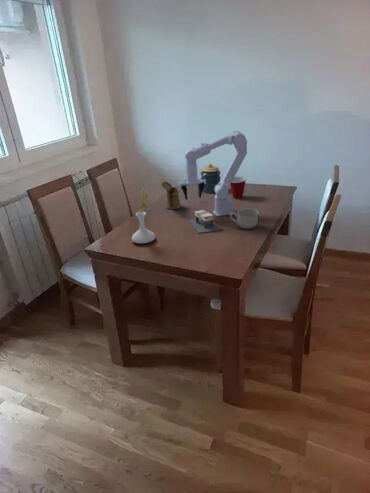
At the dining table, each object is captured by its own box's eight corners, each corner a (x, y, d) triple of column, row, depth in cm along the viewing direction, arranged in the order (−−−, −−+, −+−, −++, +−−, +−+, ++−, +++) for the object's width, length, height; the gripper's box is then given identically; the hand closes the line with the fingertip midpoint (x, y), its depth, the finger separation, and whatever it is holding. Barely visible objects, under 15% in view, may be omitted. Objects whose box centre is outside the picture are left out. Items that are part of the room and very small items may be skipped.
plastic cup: (225, 197, 227) (225, 178, 222) (239, 193, 231) (240, 175, 226) (234, 201, 218) (234, 182, 213) (249, 198, 222) (250, 179, 217)
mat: (188, 221, 195) (188, 219, 194) (210, 217, 197) (210, 216, 197) (198, 233, 179) (198, 232, 179) (221, 230, 181) (221, 229, 181)
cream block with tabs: (213, 226, 185) (213, 215, 182) (205, 228, 183) (204, 217, 180) (203, 220, 193) (203, 209, 190) (195, 222, 191) (194, 211, 188)
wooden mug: (159, 211, 210) (156, 181, 202) (169, 203, 221) (167, 174, 213) (173, 213, 207) (171, 182, 199) (183, 205, 218) (181, 175, 210)
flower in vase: (146, 247, 168) (140, 195, 157) (127, 243, 174) (120, 192, 163) (162, 236, 178) (157, 187, 167) (143, 232, 184) (138, 184, 173)
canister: (199, 193, 236) (198, 166, 228) (202, 187, 248) (201, 161, 240) (220, 193, 234) (219, 166, 226) (221, 187, 245) (221, 161, 238)
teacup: (259, 223, 186) (260, 208, 183) (256, 232, 177) (256, 216, 174) (232, 221, 191) (232, 207, 187) (228, 229, 182) (227, 214, 178)
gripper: (202, 169, 197) (203, 194, 202) (176, 173, 194) (178, 197, 199) (206, 173, 190) (207, 197, 196) (179, 176, 187) (181, 201, 193)
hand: (193, 198), depth 197 cm, fingers open, 7 cm apart
